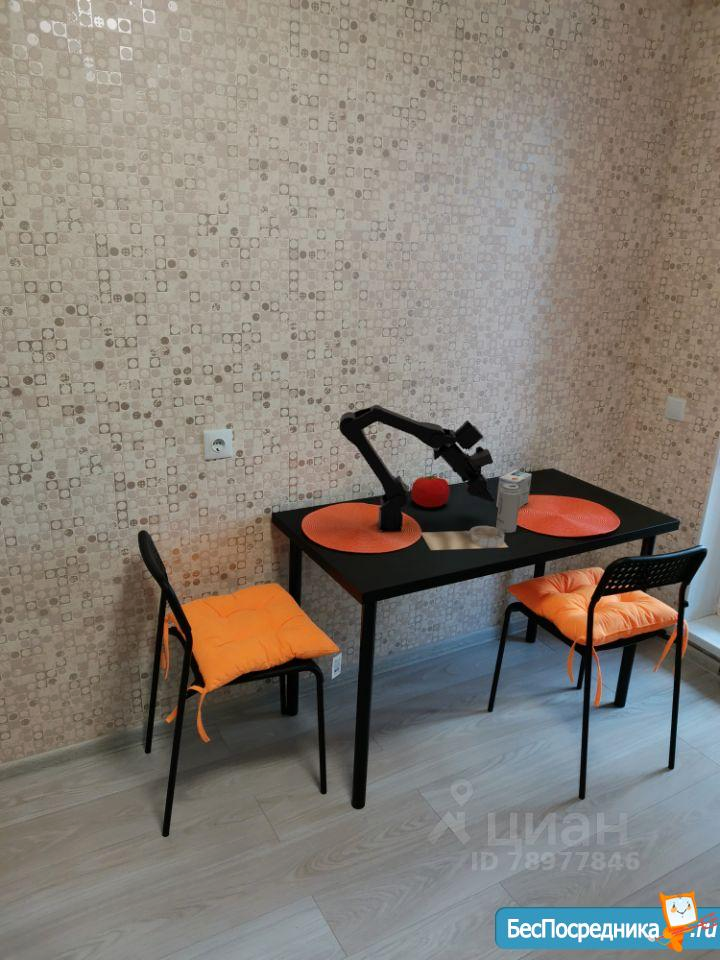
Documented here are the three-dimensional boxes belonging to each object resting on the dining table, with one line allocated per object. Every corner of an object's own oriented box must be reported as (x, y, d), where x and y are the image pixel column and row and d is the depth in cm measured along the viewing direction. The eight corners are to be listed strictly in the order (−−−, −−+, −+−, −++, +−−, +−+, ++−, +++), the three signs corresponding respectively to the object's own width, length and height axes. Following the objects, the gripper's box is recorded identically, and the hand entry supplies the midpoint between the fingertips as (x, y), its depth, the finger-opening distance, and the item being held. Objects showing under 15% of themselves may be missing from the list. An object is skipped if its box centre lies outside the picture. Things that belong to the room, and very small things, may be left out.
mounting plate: (430, 553, 207) (430, 550, 207) (420, 536, 219) (420, 532, 218) (508, 550, 211) (508, 547, 211) (494, 533, 222) (494, 530, 222)
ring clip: (475, 548, 209) (476, 540, 209) (465, 534, 218) (465, 526, 218) (508, 547, 211) (509, 539, 210) (496, 533, 220) (497, 525, 219)
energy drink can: (493, 528, 227) (498, 482, 221) (512, 528, 227) (517, 482, 222) (498, 536, 221) (503, 489, 216) (518, 536, 222) (523, 489, 216)
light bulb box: (510, 498, 251) (514, 468, 247) (528, 503, 247) (532, 473, 243) (495, 507, 243) (498, 476, 240) (513, 512, 239) (517, 481, 236)
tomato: (452, 511, 238) (454, 482, 234) (413, 512, 236) (415, 482, 233) (443, 498, 248) (446, 470, 245) (407, 499, 247) (408, 470, 243)
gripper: (482, 451, 205) (518, 489, 209) (473, 432, 223) (506, 468, 227) (452, 476, 208) (487, 514, 212) (445, 456, 226) (478, 491, 229)
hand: (490, 495), depth 220 cm, fingers open, 9 cm apart
